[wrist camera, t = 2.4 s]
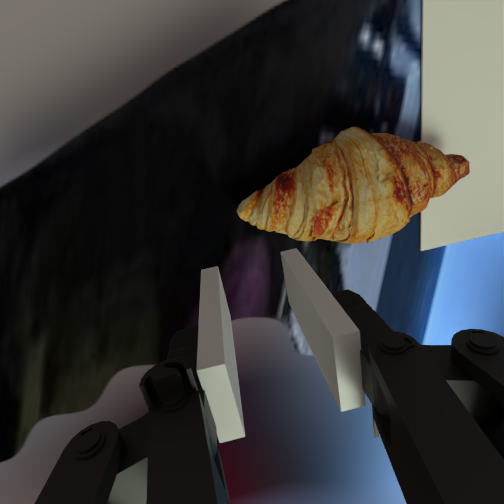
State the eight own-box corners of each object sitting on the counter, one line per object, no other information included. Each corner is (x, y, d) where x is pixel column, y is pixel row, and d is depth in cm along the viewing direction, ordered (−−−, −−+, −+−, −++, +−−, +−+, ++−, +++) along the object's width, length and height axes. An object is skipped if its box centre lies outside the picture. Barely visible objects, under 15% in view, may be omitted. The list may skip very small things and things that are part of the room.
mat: (603, -56, 26) (606, -57, 26) (556, 218, 35) (558, 219, 35) (421, -22, 26) (423, -23, 25) (419, 250, 34) (421, 250, 34)
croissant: (240, 227, 34) (254, 287, 29) (221, 144, 27) (234, 205, 22) (429, 184, 35) (476, 235, 30) (463, 89, 27) (534, 137, 22)
